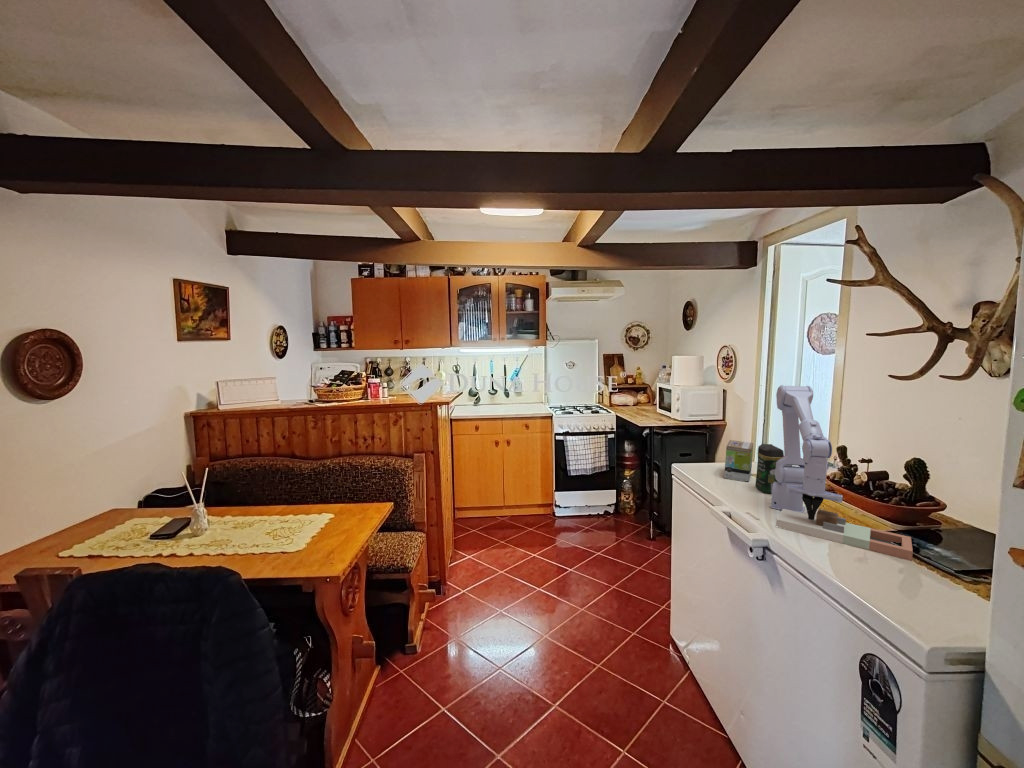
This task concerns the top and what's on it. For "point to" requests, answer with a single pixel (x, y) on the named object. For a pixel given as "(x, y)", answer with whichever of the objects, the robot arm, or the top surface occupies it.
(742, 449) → the tea box
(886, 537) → the board
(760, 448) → the coffee jar
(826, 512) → the walnut block
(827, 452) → the robot arm
